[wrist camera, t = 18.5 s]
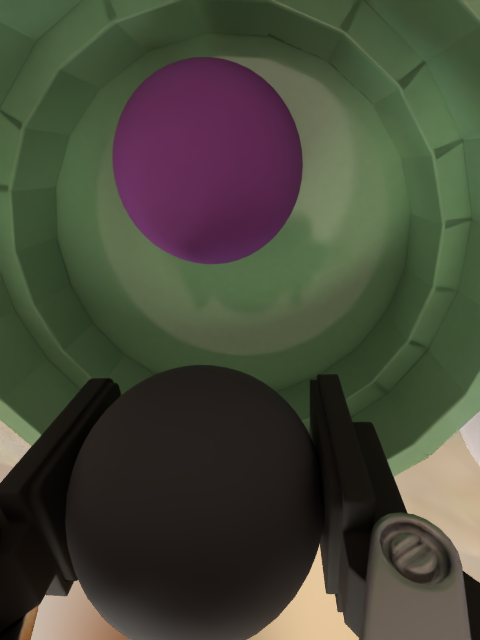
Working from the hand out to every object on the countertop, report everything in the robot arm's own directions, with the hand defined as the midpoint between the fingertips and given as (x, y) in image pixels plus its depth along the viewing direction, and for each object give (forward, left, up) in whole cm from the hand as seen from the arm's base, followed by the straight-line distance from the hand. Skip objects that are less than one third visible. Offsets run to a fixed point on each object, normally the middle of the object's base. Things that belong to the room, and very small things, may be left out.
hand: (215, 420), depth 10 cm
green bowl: (0, +4, -7) cm, 8 cm away
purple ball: (0, +7, -6) cm, 9 cm away
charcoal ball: (0, 0, 0) cm, 0 cm away
